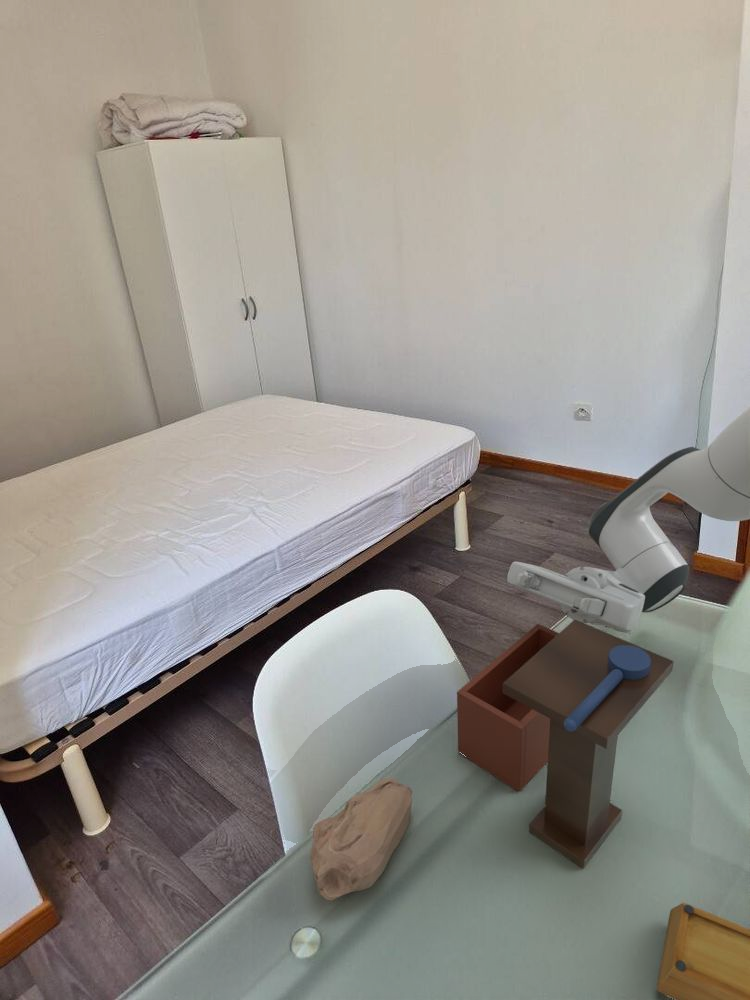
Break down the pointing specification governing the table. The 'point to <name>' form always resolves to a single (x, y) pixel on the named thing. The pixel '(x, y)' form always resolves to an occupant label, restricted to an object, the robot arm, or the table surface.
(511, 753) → the bin
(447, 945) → the table surface
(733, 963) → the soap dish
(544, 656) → the shelf stand
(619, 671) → the blue spoon
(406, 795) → the rock
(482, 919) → the table surface
